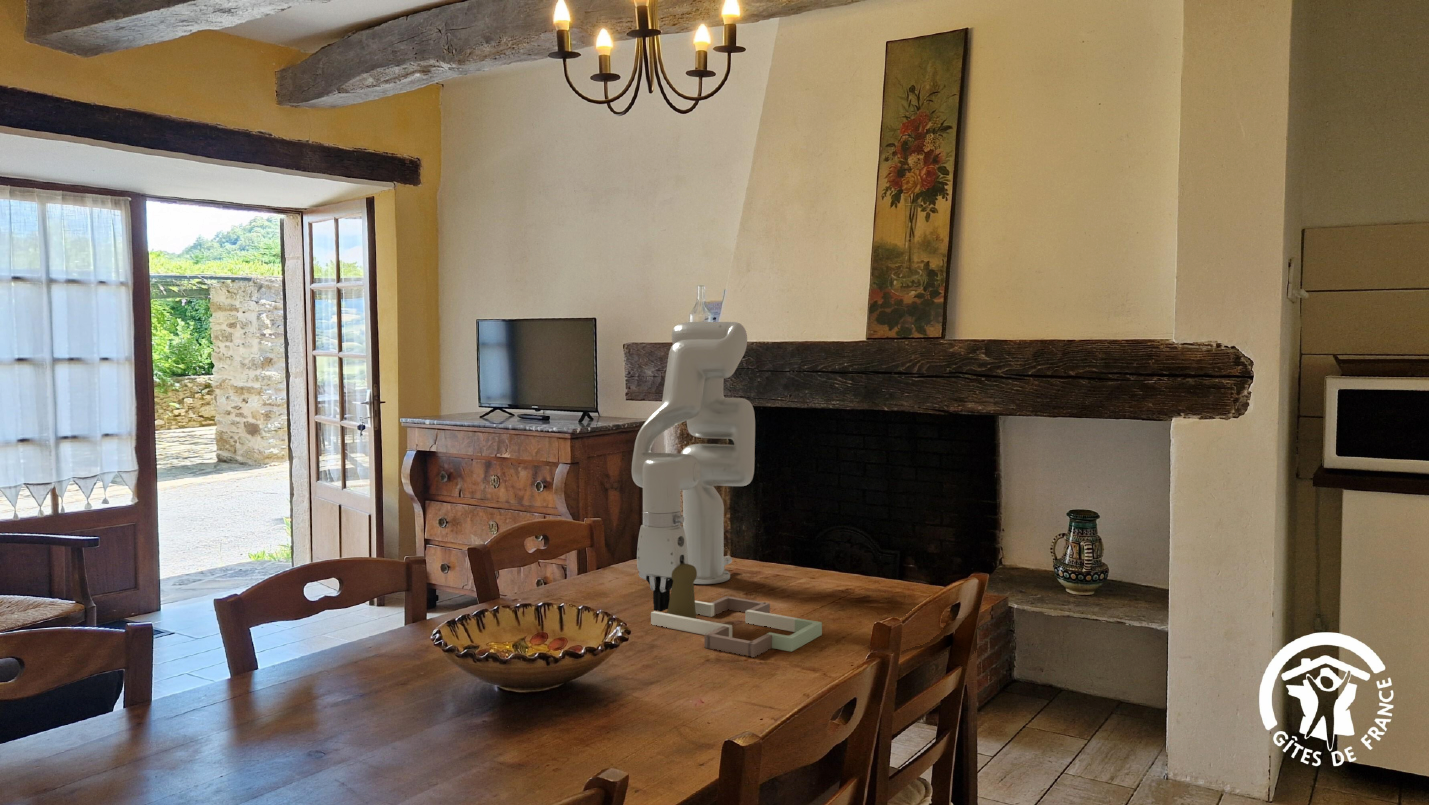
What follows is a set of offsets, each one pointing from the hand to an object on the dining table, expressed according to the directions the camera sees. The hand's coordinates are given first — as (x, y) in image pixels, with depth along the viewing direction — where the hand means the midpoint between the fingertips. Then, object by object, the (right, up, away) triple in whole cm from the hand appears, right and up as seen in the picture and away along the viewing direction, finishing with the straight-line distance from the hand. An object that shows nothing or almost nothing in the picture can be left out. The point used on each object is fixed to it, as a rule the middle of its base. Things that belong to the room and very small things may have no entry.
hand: (661, 609), depth 200 cm
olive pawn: (+4, -2, -2) cm, 5 cm away
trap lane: (+14, -2, -9) cm, 17 cm away
